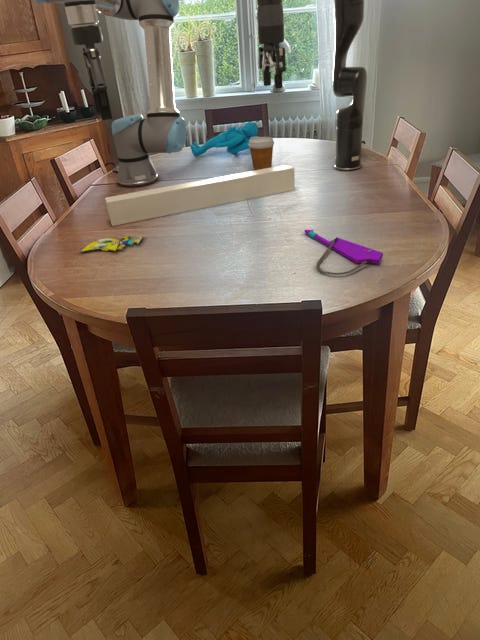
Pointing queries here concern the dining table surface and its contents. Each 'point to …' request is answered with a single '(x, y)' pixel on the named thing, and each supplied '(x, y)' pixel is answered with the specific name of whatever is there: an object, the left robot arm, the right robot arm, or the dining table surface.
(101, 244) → the toy
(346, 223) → the dining table surface
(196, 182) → the post
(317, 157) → the dining table surface
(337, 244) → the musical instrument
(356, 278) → the dining table surface
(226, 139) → the toy
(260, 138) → the disposable coffee cup
